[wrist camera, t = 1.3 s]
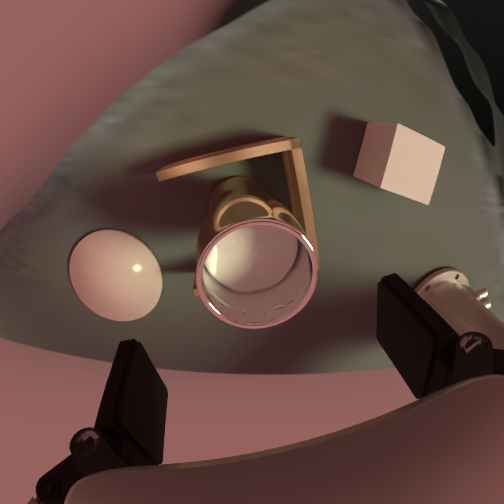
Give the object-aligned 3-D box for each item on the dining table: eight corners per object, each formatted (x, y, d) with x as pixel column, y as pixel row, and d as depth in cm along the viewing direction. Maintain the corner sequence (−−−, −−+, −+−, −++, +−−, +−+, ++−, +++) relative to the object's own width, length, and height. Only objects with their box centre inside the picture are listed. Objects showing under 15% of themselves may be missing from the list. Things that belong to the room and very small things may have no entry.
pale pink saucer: (143, 216, 29) (141, 218, 29) (176, 308, 34) (175, 311, 33) (57, 243, 29) (55, 245, 28) (95, 324, 33) (93, 327, 33)
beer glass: (205, 241, 31) (198, 335, 17) (201, 173, 28) (185, 218, 14) (274, 238, 32) (316, 326, 18) (275, 170, 29) (327, 212, 15)
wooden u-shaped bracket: (285, 136, 28) (299, 138, 23) (305, 246, 32) (319, 266, 28) (166, 164, 27) (155, 172, 23) (198, 272, 32) (195, 297, 28)
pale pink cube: (352, 176, 30) (379, 187, 24) (367, 121, 28) (397, 123, 22) (397, 191, 31) (428, 205, 26) (411, 141, 29) (445, 147, 23)
